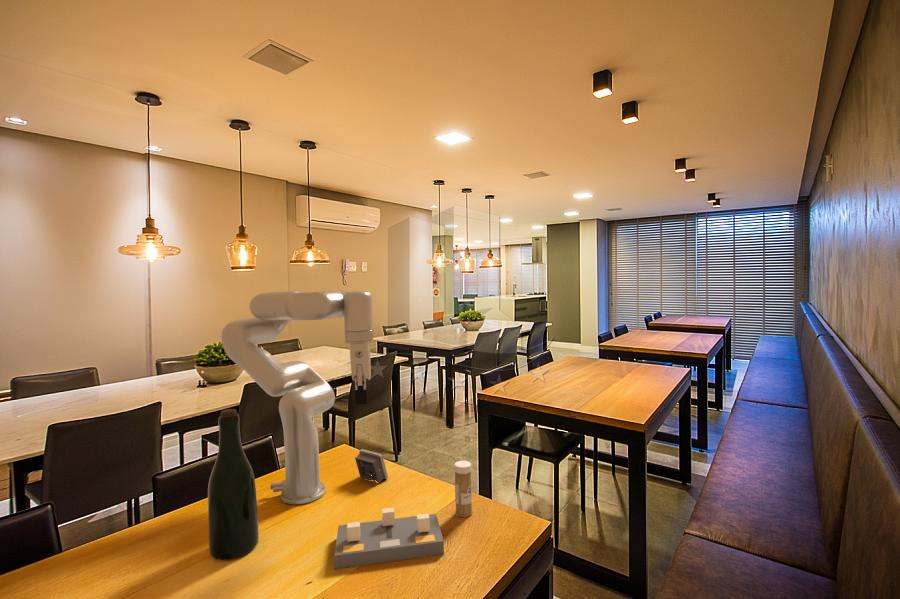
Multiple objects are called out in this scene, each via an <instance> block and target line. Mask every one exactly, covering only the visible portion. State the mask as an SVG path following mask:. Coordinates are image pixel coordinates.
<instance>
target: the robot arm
mask: <svg viewBox="0 0 900 599" xmlns="http://www.w3.org/2000/svg"><path fill="white" fill-rule="evenodd" d="M249 310H250V313H251V314H252V315H253V317H247V318H239V319H236V320H233V321H230V322H229V323H227V324H226V325H225V326H223V329H222V330H221V338H220V339H221V344H222V347H223V349H224V352H225V353H226V355H227V356H228V358H229V359H230V360H231V361H232V362H234V363H235V364H236V365H237V366H238V367H239V368H241V369H242V370H243V371H245V373H247V374H248V376H249V377H250V378H251V379H252V380H253V381H254V382H255V383H256V384H257V385H258V386H259V387H260V388H261V389H262V390H263V391H264V392H265V393H266V394H267V395H269V396H270V397H273V398H274V397H275V398H277V397H281V396H282V397H281V398H280V400H279V404H278V411H279V412H278V413H279V416H280V420H281V423H282V424H281V425H282V429H283V430H282V431H283V444H284V445H283V446H284V464H285V466H284V467H285V468H284V470H285V480H282V481H277V482H276V481H274V482H271V483H270V490H272V492H273V493H278V492H281V493H280V500H281V501H282V503H285V504H287V505H304V504H307V503H311V502H314V501H316V500H318V499H320V498H321V497H323V495H325V494H326V490H327V488H326V487H327V486H326V485H325V484H324V483H323V482H321V473H320V471H321V470H320V451H319V450H320V449H319V448H320V447H319V444H320V443H319V433H318V428H317V426H316V424H315V423H314V421H313V418H314V417H316V416H317V415H321V414H323V413H325V412H326V411H329V410H330V409H331V408H332V407H333V406H334V403H335V400H336V396H335V391H334V389H333V387H332V386H331V385H330V384H329V383H328V381H326V380H325V379H324V378H323V377H322V376H321V374H319V373H318V372H317V371H316V370H315V369H313V367H312V366H310V365H309V364H308V363H306V362H305V361H302V360H291V361H286V362H280V361H279V360H277V359H276V358H275V357H274V355H272V354H271V353H270V352H268V350H265V349H264V348H261V347H258V346H256V345H259V344H266V343H271V342H273V341H274V340H276V339H277V338H279V336H281V334H282V333H283V331H284V330H285V329H286V328H287V326H288V325H289V324H290V322H291V321H323V320H331V319H338V318H343V320H344V321H343V322H344V343H345V344H349V355H350V356H349V360H350V361H349V362H350V371H351V372H350V373H351V379H352V381H354V382H355V385H354V386H355V389H354V404H355V405H356V406H358V405H359V406H360V405H367V403H368V388H367V380H368V381H370V380H371V379H372V366H371V364H372V363H371V345H370V343H373V342H374V324H373V319H374V318H373V297H372V294H371V292H369V291H364V290H363V291H362V290H360V291H357V290H356V291H347V290H327V291H325V290H324V291H311V292H309V291H307V292H300V291H298V290H290V291H289V290H287V291H271V292H270V291H268V292H261V293H259V294H256V295H255V296H253V297H252V299H251V300H250V303H249Z"/></svg>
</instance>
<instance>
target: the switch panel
mask: <svg viewBox="0 0 900 599" xmlns="http://www.w3.org/2000/svg"><path fill="white" fill-rule="evenodd" d="M428 514H429V513H428ZM429 518H430V531H427V532H420V533H418V530H417V515H412V516H406V517H398V518H394V523H395V525H389V526H383V519H380V520H373V521H365V522H360V540H358V541H350V542H348V541H347V524H340V525H339V524H338V527H337V533H336V534H337V535H336V542H335V548H334V558H333V560H334V570H339V569H345V568H352V567H359V566H360V567H361V566H368V565H375V564H381V563H382V564H383V563H390V562H396V561H404V560H412V559H419V558H425V557H433V556H441V555H445V546H444V545H445V544H444V542H445V541H444V538H443V534H442V531H441V528H440V527H441V526H440V523H439V520H438V516H437V513H430V514H429Z"/></svg>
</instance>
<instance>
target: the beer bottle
mask: <svg viewBox="0 0 900 599" xmlns="http://www.w3.org/2000/svg"><path fill="white" fill-rule="evenodd" d="M240 420H241V419H240V416H239V413H238V411H237V409H235V408H228V409H224V410H221V411H220V416H219V417H218V421H217V423H218V433H219V434H218V435H219V436H218V449H217V455H216V459H215V463H214V465H213V467H212V470H211V473H210V477H209V480H208V487H207V514H208V515H207V516H208V517H207V519H208V520H207V522H208V548H209V554H210V556H211V558H213V559H214V560H219V561H229V560H235V559H238V558H241V557H244V556H245V555H247V554H248V553H250V552H252V551H253V550H254V549H255V548H256V547H257V545H258V543H259V541H260V540H259V539H260V538H259V534H260V532H259V516H258V501H257V486H256V480H255V479H256V478H255V474H254V471H253V468H252V466H251V463H250V462H249V460H248V458H247V456H246V454H245V451H244V449H243V445H242V440H241V432H240Z"/></svg>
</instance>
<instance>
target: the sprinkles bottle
mask: <svg viewBox="0 0 900 599" xmlns="http://www.w3.org/2000/svg"><path fill="white" fill-rule="evenodd" d="M453 470H454V493H455V494H454V497H455V514H456V516H458V517H461V518H468V517H470V516H472V515H473V506H472V505H473V504H472V503H473V500H472V499H473V496H472V495H473V494H472V463H471V462H470V461H468V460H458V461H456V462H455V463H454V465H453Z"/></svg>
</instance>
